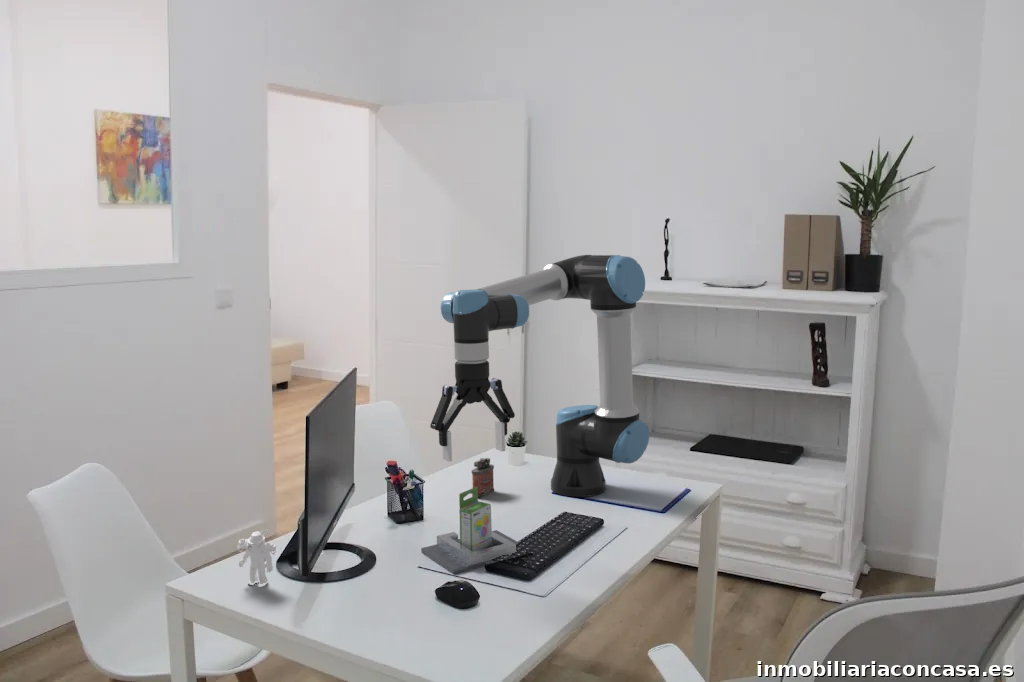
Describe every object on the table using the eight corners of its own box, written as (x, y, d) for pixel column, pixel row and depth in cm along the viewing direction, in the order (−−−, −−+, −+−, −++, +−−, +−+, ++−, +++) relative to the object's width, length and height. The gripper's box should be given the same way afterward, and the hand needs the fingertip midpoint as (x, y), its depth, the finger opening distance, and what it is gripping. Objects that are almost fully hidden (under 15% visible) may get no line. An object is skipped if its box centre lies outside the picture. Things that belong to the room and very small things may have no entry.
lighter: (487, 489, 246) (486, 454, 244) (497, 491, 244) (496, 456, 242) (469, 497, 239) (468, 461, 238) (479, 499, 237) (478, 463, 236)
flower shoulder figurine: (281, 583, 185) (278, 527, 183) (270, 590, 182) (267, 534, 180) (246, 577, 188) (242, 523, 187) (234, 584, 185) (230, 529, 183)
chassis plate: (496, 534, 211) (496, 522, 211) (531, 553, 199) (531, 540, 198) (421, 552, 201) (420, 539, 200) (453, 574, 188) (452, 560, 188)
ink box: (473, 555, 196) (472, 496, 194) (459, 551, 198) (458, 493, 196) (492, 545, 201) (491, 488, 199) (478, 542, 204) (477, 485, 202)
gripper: (510, 352, 204) (512, 442, 207) (412, 364, 190) (416, 460, 193) (528, 356, 197) (530, 449, 200) (429, 369, 184) (432, 468, 187)
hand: (474, 455), depth 197 cm, fingers open, 13 cm apart
